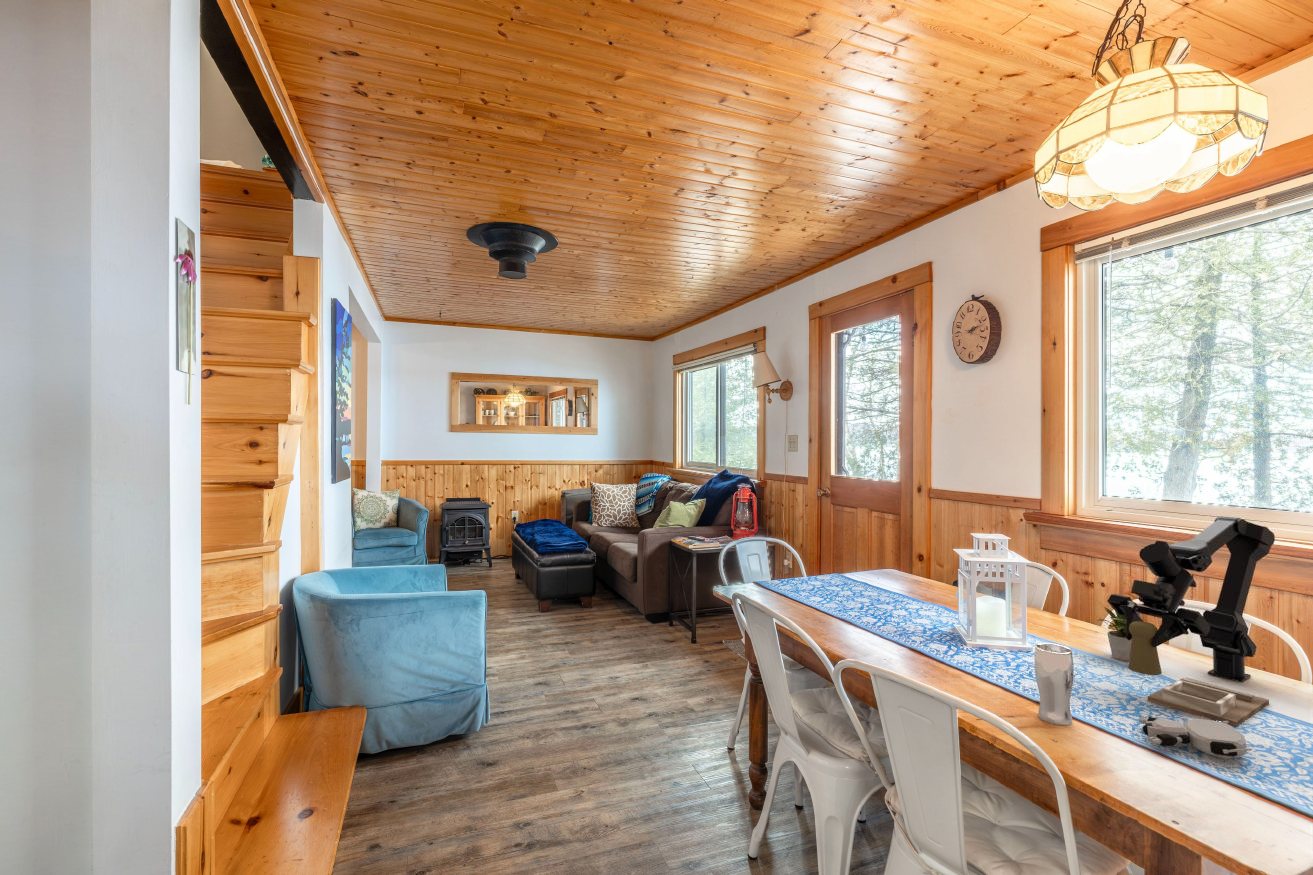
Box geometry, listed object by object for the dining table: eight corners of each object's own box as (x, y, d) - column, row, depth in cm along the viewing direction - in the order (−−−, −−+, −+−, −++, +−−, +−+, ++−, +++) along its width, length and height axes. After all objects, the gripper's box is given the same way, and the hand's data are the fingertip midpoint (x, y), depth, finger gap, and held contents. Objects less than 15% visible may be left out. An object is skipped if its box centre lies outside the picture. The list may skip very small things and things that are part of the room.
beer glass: (1063, 729, 123) (1061, 655, 123) (1028, 716, 129) (1026, 646, 129) (1082, 721, 126) (1080, 650, 126) (1047, 709, 132) (1046, 640, 132)
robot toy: (1151, 757, 113) (1259, 771, 106) (1148, 733, 113) (1256, 745, 106) (1137, 730, 124) (1234, 741, 117) (1134, 708, 124) (1231, 717, 117)
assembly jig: (1183, 681, 146) (1183, 667, 146) (1269, 704, 133) (1268, 688, 133) (1147, 700, 136) (1147, 685, 136) (1236, 726, 123) (1236, 709, 123)
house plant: (1076, 646, 172) (1075, 589, 173) (1129, 648, 170) (1128, 590, 171) (1106, 664, 158) (1105, 602, 158) (1165, 666, 156) (1163, 603, 157)
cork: (1121, 667, 141) (1120, 620, 141) (1139, 663, 143) (1138, 617, 143) (1149, 676, 135) (1148, 627, 135) (1168, 672, 137) (1166, 624, 137)
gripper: (1110, 560, 149) (1081, 610, 146) (1199, 575, 132) (1168, 632, 128) (1133, 589, 152) (1104, 638, 148) (1223, 607, 134) (1193, 664, 131)
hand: (1139, 642), depth 139 cm, fingers closed on cork, 5 cm apart
